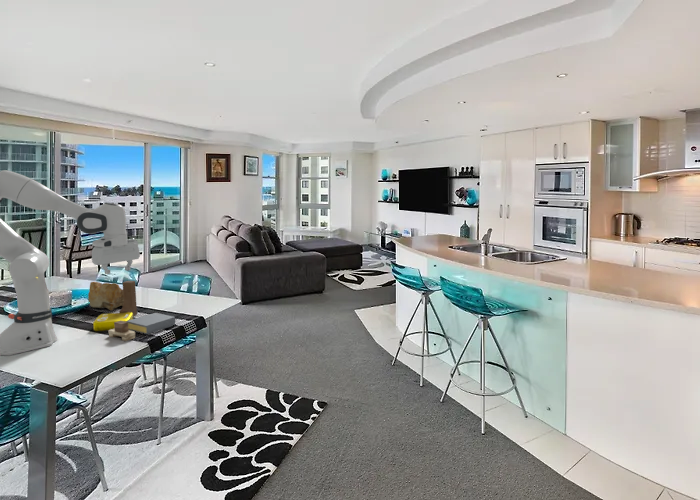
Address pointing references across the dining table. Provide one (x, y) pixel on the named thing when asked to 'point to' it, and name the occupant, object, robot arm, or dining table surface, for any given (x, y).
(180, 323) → the dining table surface
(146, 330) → the dock
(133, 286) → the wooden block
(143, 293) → the dining table surface
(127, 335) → the tan stepped block
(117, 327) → the brown box
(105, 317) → the element tile
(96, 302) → the rough brown rock
